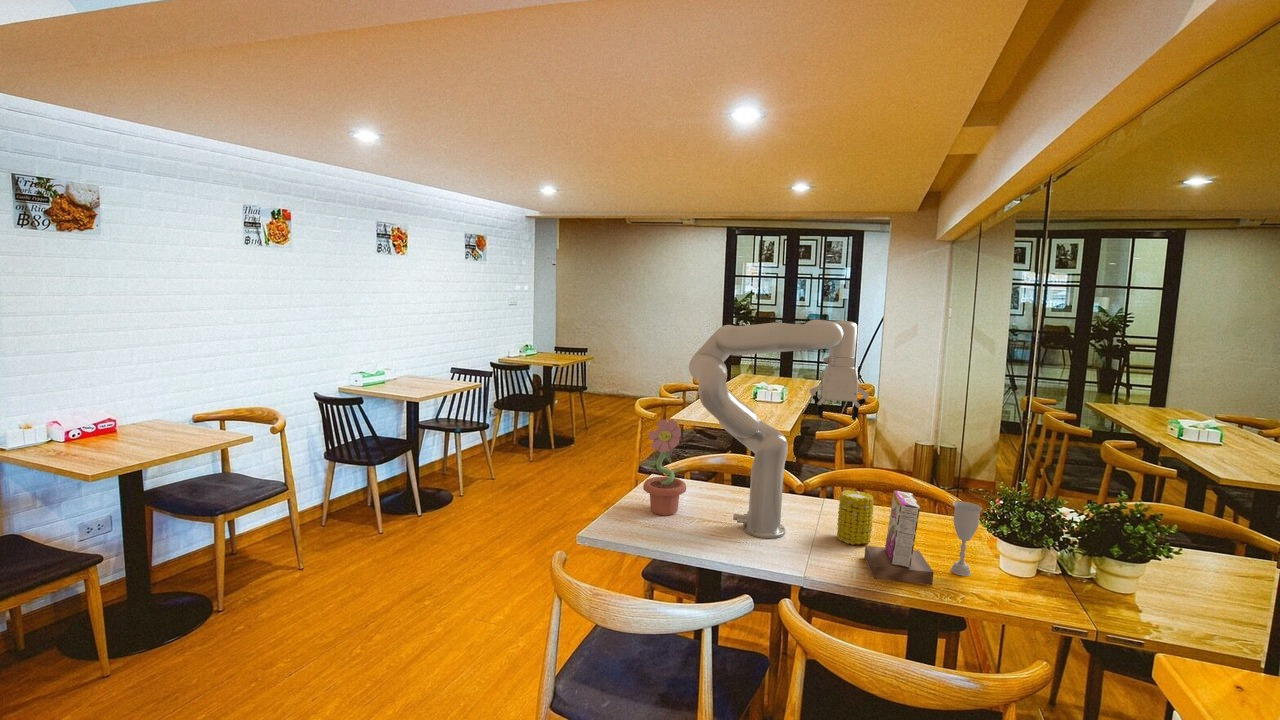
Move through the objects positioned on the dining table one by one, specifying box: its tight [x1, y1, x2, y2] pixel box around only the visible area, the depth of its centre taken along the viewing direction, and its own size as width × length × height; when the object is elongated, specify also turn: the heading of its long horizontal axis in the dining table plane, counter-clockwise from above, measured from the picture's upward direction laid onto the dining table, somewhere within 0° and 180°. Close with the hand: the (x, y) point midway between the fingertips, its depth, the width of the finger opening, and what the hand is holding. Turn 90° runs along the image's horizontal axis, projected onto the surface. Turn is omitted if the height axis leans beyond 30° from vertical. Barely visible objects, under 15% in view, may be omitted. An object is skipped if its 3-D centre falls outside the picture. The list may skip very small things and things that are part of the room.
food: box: [836, 489, 875, 546], centre depth 183 cm, size 15×12×10 cm
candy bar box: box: [884, 490, 921, 568], centre depth 163 cm, size 11×5×16 cm, turn 167°
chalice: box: [950, 501, 983, 577], centre depth 164 cm, size 7×7×18 cm
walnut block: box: [864, 545, 934, 586], centre depth 164 cm, size 14×13×4 cm
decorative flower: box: [642, 419, 687, 516], centre depth 200 cm, size 15×14×30 cm
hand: (837, 418), depth 189 cm, fingers open, 9 cm apart
